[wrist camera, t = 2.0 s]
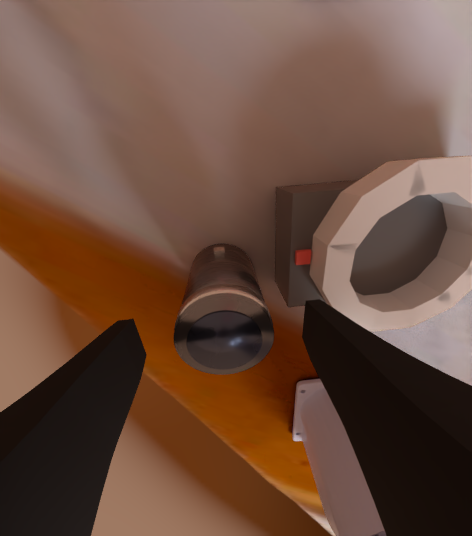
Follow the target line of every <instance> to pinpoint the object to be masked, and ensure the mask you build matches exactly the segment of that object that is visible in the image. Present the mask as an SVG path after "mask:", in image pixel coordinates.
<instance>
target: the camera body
mask: <svg viewBox="0 0 472 536" xmlns="http://www.w3.org/2000/svg"><path fill="white" fill-rule="evenodd" d="M275 282H276V284H277V286H278V288H279V290H280V292H281V294H282V296H283V298H284V300H285V302H286V304H287V306H288V307H294V306H304V305H305V302H306V301H308V300H317V299H320V300H322V301H324V302H325V303H327V304H328V305H330V306H331V307H333V308H334V309H336V310H337V311H339V312H340V313H342V314H343V315H345V316H346V317H348V318H349V319H351V320H352V321H354V322H355V323H357V324H359V325H360V326H362V327H363V328H365V329H366V330H368V331H371V332H373V331H382V330H391V329H400V328H409V327H413V326H415V325H417V324H419V323H421V322H423V321H425V320H427V319H429V318H431V317H433V316H435V315H437V314H439V313H441V312H443V311H446V310H448V309H450V308H452V307H453V306H454V305H455V304H456V303H457V302H458V301H460V300H461V299H462V298H463V297H464V296H465V295H466V294H467V293H468V292H469V291H470V290H471V289H472V156H454V157H433V158H421V159H409V160H397V161H388V162H386V163H384V164H383V165H381V166H380V167H378V168H377V169H375V170H374V171H372V172H371V173H369V174H368V175H366V176H365V177H363V178H362V179H360V180H354V181H343V182H331V183H319V184H308V185H296V186H284V187H276V240H275Z"/></svg>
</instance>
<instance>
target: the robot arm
mask: <svg viewBox="0 0 472 536" xmlns="http://www.w3.org/2000/svg"><path fill="white" fill-rule="evenodd" d="M302 338H303V340H304V343H305V346H306V349H307V352H308V354H309V357H310V360H311V362H312V364H313V366H314V368H315V370H316V372H317V374H318V376H319V378H320V379H312V380H303V381H299V382H298V383H297V385H296V396H295V408H294V420H293V432H292V437H293V440H294V441H303V443H304V446H305V450H306V453H307V456H308V459H309V463H310V466H311V469H312V473H313V476H314V479H315V482H316V486H317V489H318V492H319V495H320V499H321V502H322V505H323V509H324V512H325V515H326V517H327V520H328V522H329V524H330V526H331V528H332V530H333V532H334V533H335V535H336V536H472V386H471V385H469V384H466V383H464V382H462V381H460V380H458V379H456V378H454V377H452V376H450V375H448V374H445V373H443V372H441V371H440V370H438V369H436V368H434V367H432V366H430V365H428V364H426V363H424V362H422V361H420V360H418V359H416V358H414V357H412V356H411V355H409V354H407V353H405V352H403V351H402V350H400V349H398V348H396V347H395V346H393V345H391V344H390V343H388V342H386V341H384V340H383V339H381V338H379V337H378V336H376V335H374V334H373V333H371V332H370V331H368V330H366V329H365V328H363V327H362V326H360V325H359V324H357V323H355V322H354V321H352V320H351V319H349V318H348V317H346V316H345V315H343V314H342V313H340V312H339V311H337V310H336V309H334V308H333V307H331V306H330V305H328V304H327V303H325V302H324V301H322V300H320V299H317V300H308V301H306V302H305V313H304V324H303V335H302ZM145 359H146V352H145V349H144V347H143V344H142V341H141V339H140V336H139V333H138V331H137V328H136V325H135V322H134V320H133V319H129V320H120V321H117V322H116V323H114V324H113V325H112V326H110V327H109V328H108V329H107V330H105V331H104V332H103V333H102V334H101V335H99V336H98V337H97V338H96V339H95V340H93V341H92V342H91V343H90V344H89V345H87V346H86V347H85V348H84V349H82V350H81V351H80V352H79V353H78V354H76V355H75V356H74V357H73V358H72V359H70V360H69V361H68V362H67V363H66V364H64V365H63V366H62V367H60V368H59V369H58V370H56V371H55V372H54V373H53V374H51V375H50V376H49V377H48V378H46V379H45V380H44V381H42V382H41V383H40V384H39V385H37V386H36V387H35V388H33V389H32V390H31V391H29V392H28V393H27V394H25V395H24V396H23V397H21V398H20V399H19V400H17V401H16V402H14V403H13V404H12V405H10V406H9V407H7V408H6V409H5V410H3V411H2V412H0V536H91V533H92V529H93V525H94V521H95V518H96V514H97V510H98V506H99V502H100V498H101V495H102V491H103V487H104V484H105V480H106V477H107V473H108V470H109V466H110V463H111V459H112V457H113V453H114V451H115V447H116V445H117V442H118V439H119V436H120V434H121V431H122V429H123V426H124V423H125V420H126V418H127V415H128V412H129V410H130V407H131V404H132V401H133V399H134V396H135V393H136V390H137V388H138V385H139V382H140V379H141V376H142V372H143V368H144V363H145Z"/></svg>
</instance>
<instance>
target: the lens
mask: <svg viewBox="0 0 472 536" xmlns="http://www.w3.org/2000/svg"><path fill="white" fill-rule="evenodd" d="M273 340H274V330H273V323H272V319H271V316H270V313H269V310H268V308H267V305H266V304H265V302H264V299H263V296H262V293H261V290H260V287H259V284H258V281H257V278H256V275H255V272H254V269H253V266H252V263H251V261H250V259H249V257H248V256H247V254H246V253H245V252H244V251H243V250H241V249H240V248H238V247H236V246H233V245H230V244H215V245H211V246H209V247H207V248H205V249H203V250H202V251H201V252H200V253H199V254H198V255H197V256H196V258H195V260H194V262H193V265H192V269H191V272H190V276H189V280H188V283H187V287H186V291H185V295H184V298H183V302H182V306H181V308H180V310H179V313H178V316H177V320H176V323H175V332H174V344H175V348H176V351H177V352H178V354H179V356H180V357H181V358H182V359H183V360H184V361H185V362H186V363H187V364H188V365H190V366H191V367H193V368H195V369H197V370H200V371H203V372H206V373H211V374H232V373H237V372H241V371H244V370H247V369H249V368H251V367H253V366H254V365H256V364H257V363H259V362H260V361H261V360H262V359H263V358H264V357H265V356H266V355H267V354H268V352H269V351H270V349H271V347H272V344H273Z"/></svg>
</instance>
